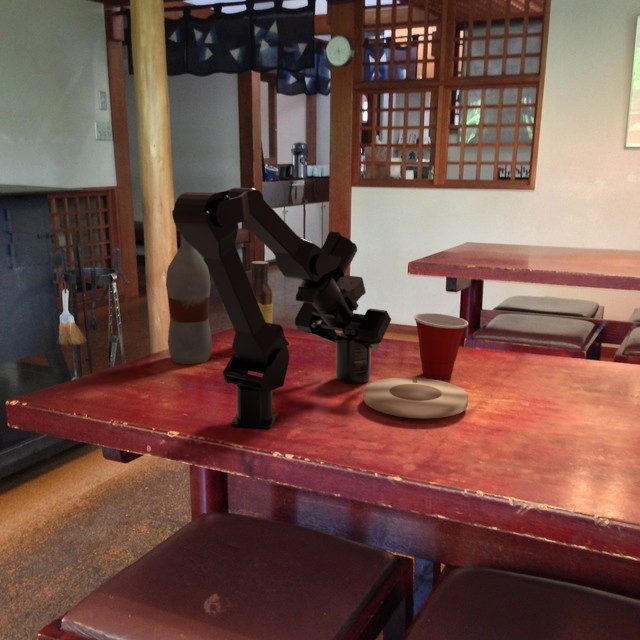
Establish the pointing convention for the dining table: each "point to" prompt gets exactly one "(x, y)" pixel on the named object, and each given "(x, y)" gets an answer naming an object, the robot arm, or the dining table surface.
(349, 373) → the supplement bottle
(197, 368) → the dining table surface
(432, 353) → the plastic cup
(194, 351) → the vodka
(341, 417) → the dining table surface
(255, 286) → the sauce bottle
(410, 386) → the disc
